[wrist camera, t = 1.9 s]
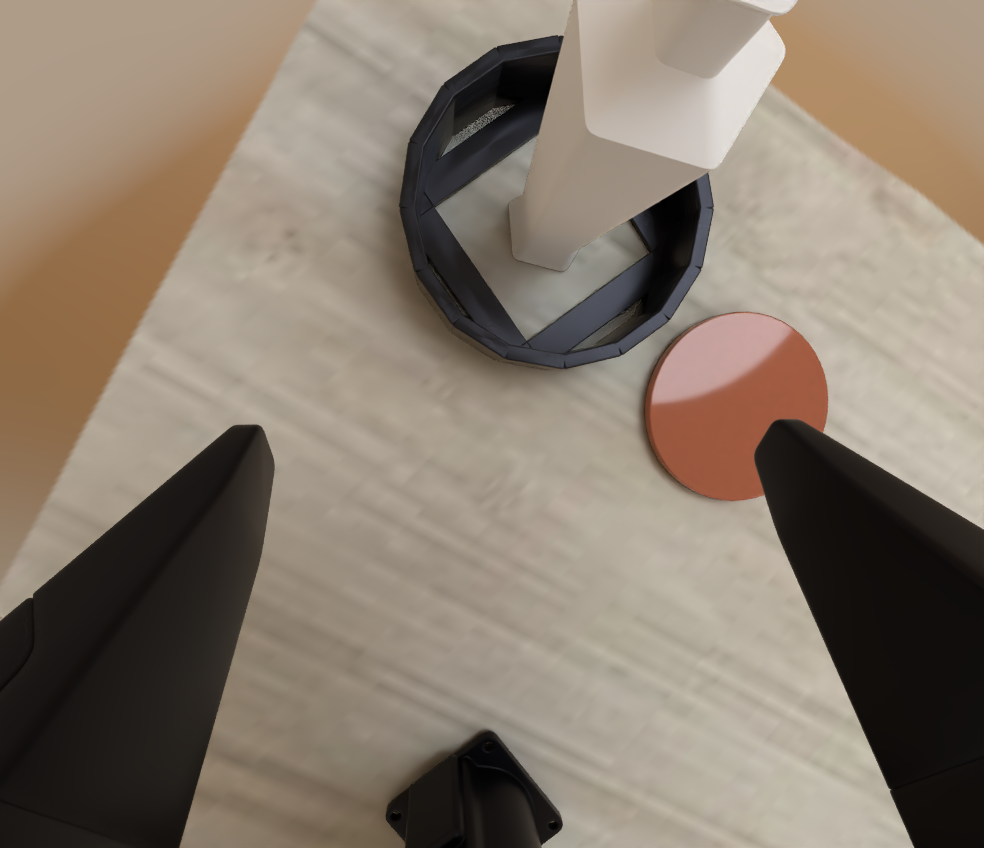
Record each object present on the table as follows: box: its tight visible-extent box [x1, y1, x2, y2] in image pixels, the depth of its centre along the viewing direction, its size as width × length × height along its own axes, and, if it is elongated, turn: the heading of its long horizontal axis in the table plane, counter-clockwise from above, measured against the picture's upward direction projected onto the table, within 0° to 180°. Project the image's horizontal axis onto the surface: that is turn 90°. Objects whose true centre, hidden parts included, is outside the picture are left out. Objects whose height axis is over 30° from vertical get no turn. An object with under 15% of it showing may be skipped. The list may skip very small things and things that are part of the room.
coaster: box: [645, 312, 828, 501], centre depth 24 cm, size 9×9×1 cm
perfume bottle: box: [509, 0, 797, 271], centre depth 15 cm, size 5×4×15 cm
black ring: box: [399, 35, 714, 370], centre depth 21 cm, size 12×12×3 cm
